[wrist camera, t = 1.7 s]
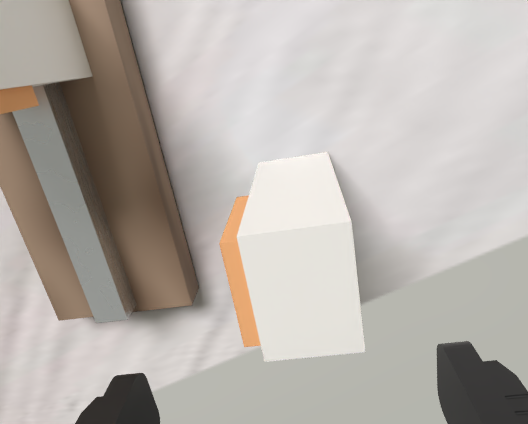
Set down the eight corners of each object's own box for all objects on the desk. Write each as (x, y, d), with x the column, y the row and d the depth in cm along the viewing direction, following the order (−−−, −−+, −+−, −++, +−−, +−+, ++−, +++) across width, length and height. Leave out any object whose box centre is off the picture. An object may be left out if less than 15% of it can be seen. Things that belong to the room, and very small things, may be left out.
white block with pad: (245, 164, 23) (214, 239, 14) (327, 151, 23) (351, 221, 14) (262, 249, 25) (244, 363, 16) (338, 239, 25) (365, 352, 16)
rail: (103, -60, 20) (-141, -201, 9) (198, 287, 27) (133, 455, 16) (-60, -21, 21) (-462, -102, 10) (74, 302, 28) (-70, 469, 17)
